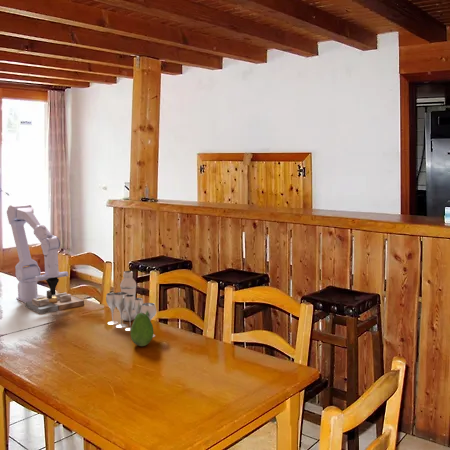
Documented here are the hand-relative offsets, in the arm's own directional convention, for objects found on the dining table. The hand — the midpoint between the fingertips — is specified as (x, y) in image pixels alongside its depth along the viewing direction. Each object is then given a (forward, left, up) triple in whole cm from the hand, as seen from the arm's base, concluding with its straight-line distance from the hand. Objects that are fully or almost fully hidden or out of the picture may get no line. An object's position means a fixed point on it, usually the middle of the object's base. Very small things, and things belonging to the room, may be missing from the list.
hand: (52, 294), depth 242 cm
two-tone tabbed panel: (0, +1, -5) cm, 5 cm away
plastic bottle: (+41, +13, -5) cm, 43 cm away
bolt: (0, -3, -3) cm, 4 cm away
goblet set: (+51, +7, -6) cm, 51 cm away
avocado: (+68, 0, -5) cm, 69 cm away
